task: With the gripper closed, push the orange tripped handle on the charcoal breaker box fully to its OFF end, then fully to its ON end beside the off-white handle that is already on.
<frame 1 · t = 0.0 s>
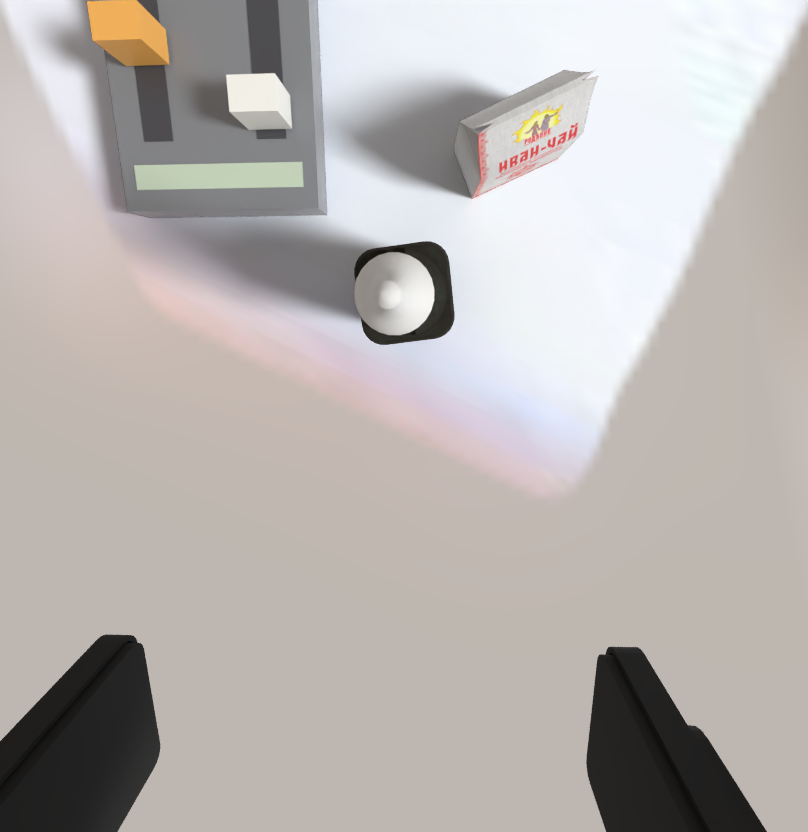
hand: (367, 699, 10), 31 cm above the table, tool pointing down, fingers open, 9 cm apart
breaker panel: (225, 69, 35), on the table
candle: (411, 294, 38), on the table
breaker handle: (130, 34, 30), point 5 cm above the table, slide at 0.0 cm
tea bag: (505, 155, 35), on the table
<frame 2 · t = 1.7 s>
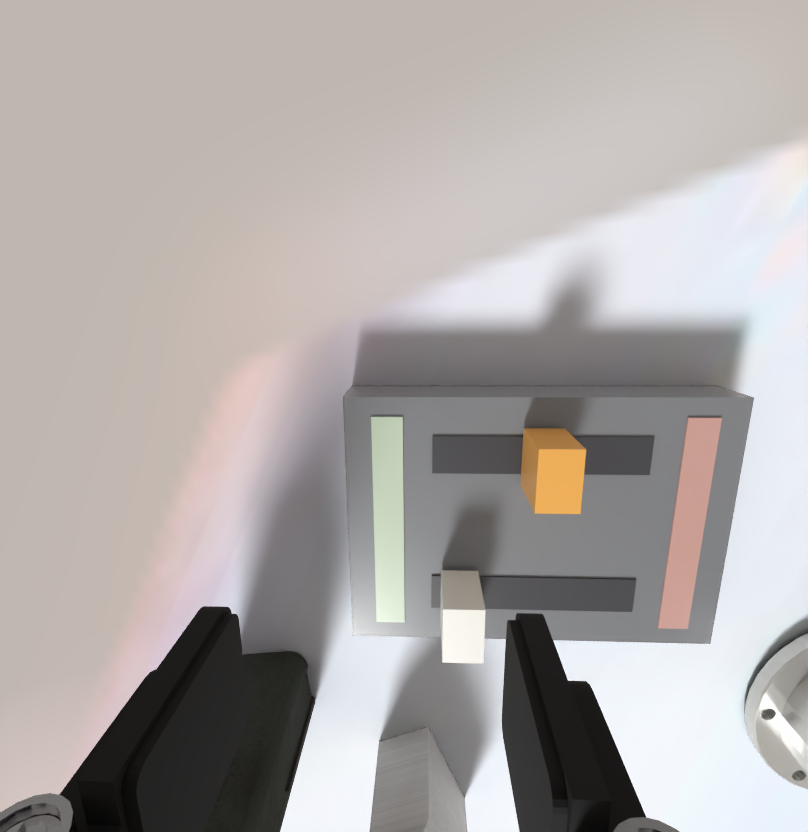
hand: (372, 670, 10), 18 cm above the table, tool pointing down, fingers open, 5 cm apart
breaker panel: (524, 502, 28), on the table
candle: (275, 681, 32), on the table
breaker handle: (550, 468, 22), point 5 cm above the table, slide at 0.0 cm
tea bag: (422, 767, 34), on the table
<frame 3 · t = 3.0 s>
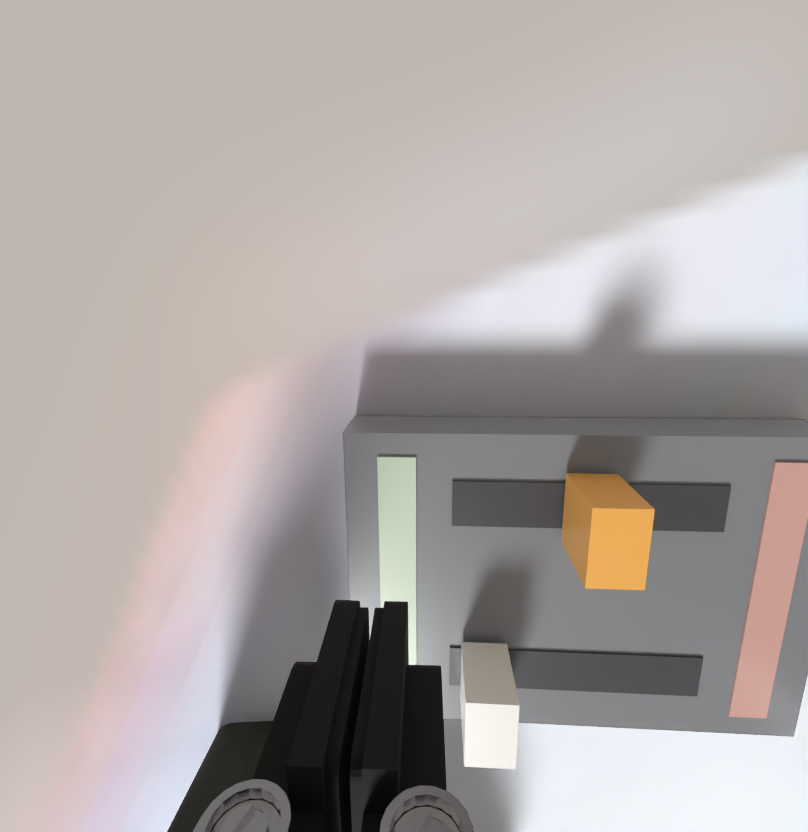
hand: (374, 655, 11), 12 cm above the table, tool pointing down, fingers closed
breaker panel: (561, 555, 23), on the table
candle: (265, 754, 28), on the table
breaker handle: (602, 527, 18), point 5 cm above the table, slide at 0.0 cm
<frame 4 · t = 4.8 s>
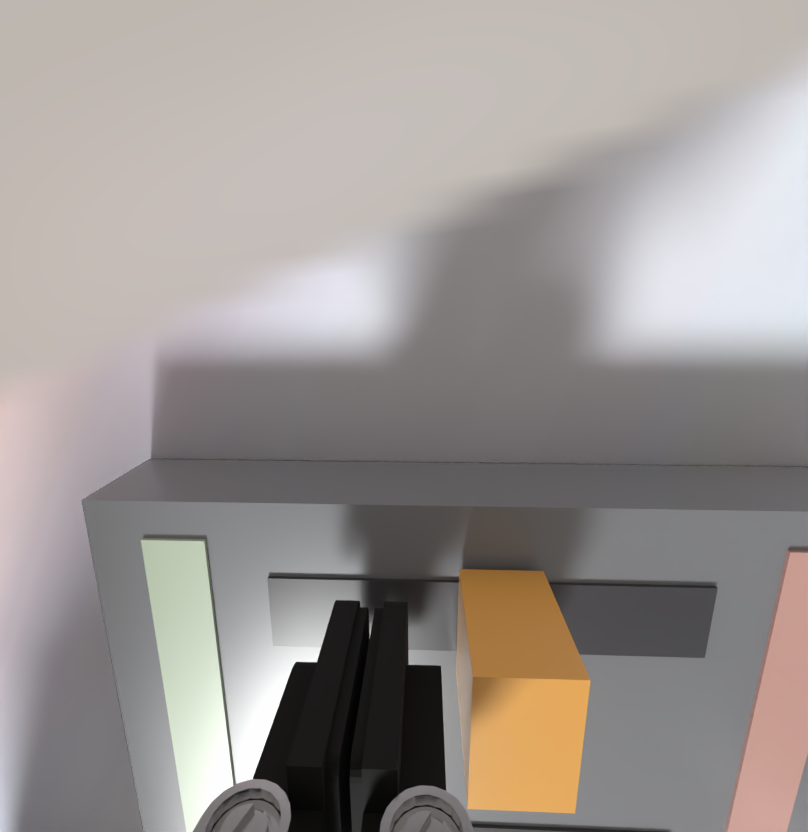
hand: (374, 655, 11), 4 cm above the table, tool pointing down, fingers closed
breaker panel: (469, 659, 16), on the table
breaker handle: (509, 676, 10), point 5 cm above the table, slide at -0.3 cm, touching gripper
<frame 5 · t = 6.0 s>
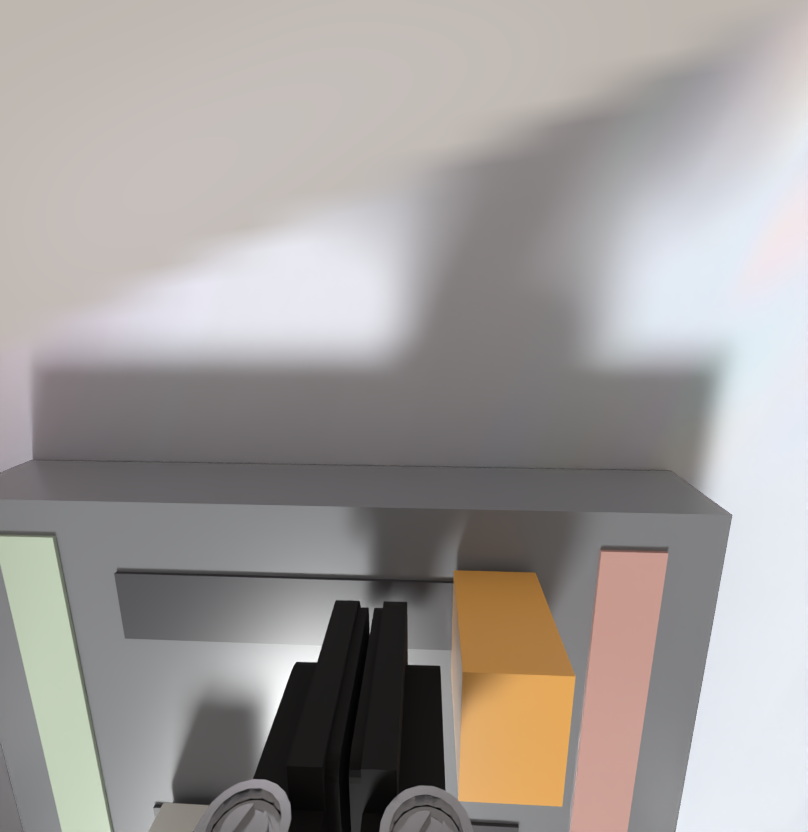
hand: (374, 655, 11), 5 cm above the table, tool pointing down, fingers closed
breaker panel: (346, 656, 16), on the table
breaker handle: (501, 673, 10), point 5 cm above the table, slide at -4.4 cm, touching gripper
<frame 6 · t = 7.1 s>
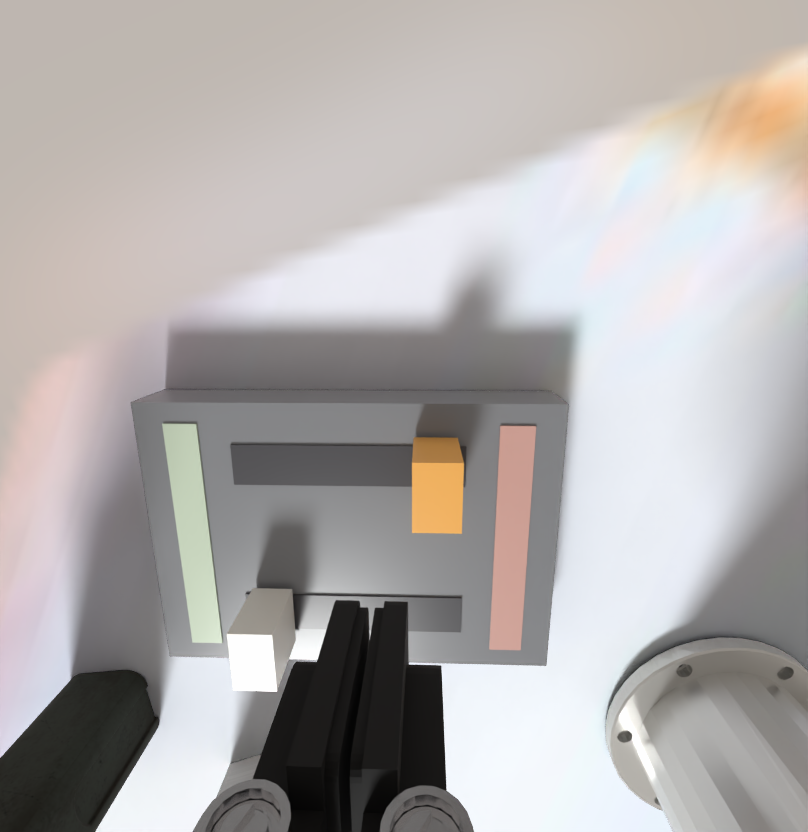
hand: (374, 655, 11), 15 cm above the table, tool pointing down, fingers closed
breaker panel: (358, 514, 26), on the table
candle: (117, 701, 30), on the table
breaker handle: (436, 482, 20), point 5 cm above the table, slide at -4.1 cm
tea bag: (279, 789, 32), on the table
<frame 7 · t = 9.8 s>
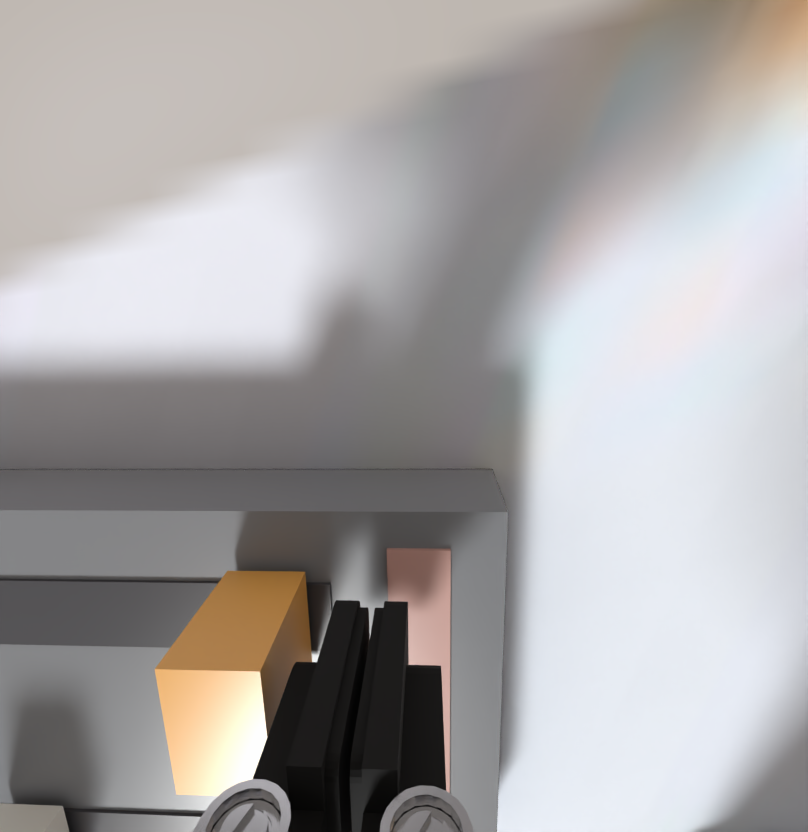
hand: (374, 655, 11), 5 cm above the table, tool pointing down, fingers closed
breaker panel: (200, 657, 17), on the table
breaker handle: (247, 670, 11), point 5 cm above the table, slide at -3.9 cm, touching gripper
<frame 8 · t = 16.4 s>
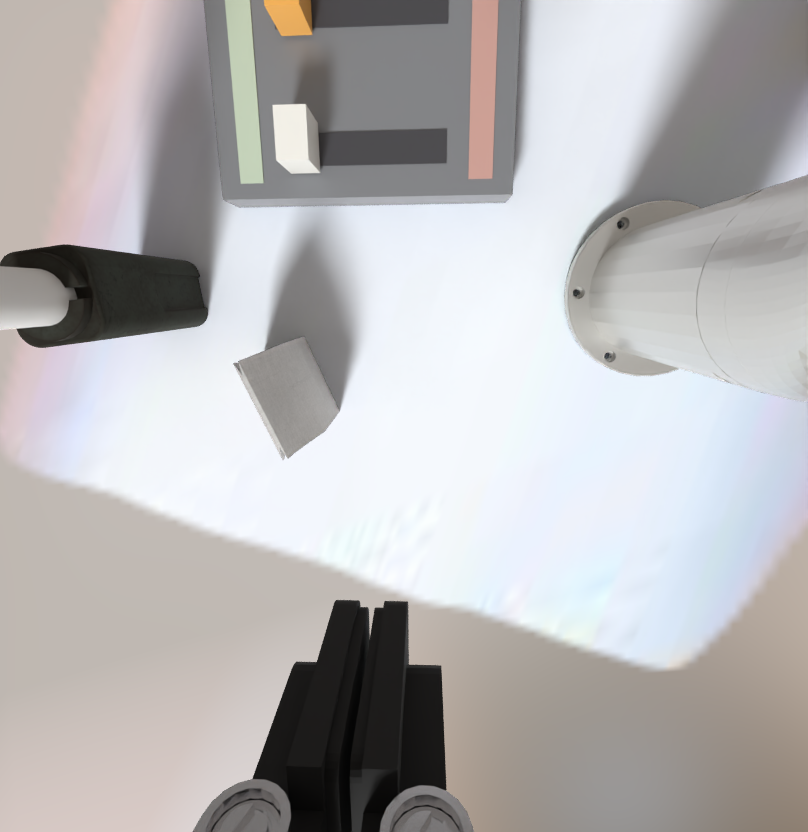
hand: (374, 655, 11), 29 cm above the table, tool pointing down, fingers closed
breaker panel: (367, 99, 34), on the table
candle: (174, 296, 38), on the table
tea bag: (302, 382, 39), on the table
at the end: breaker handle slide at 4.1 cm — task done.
